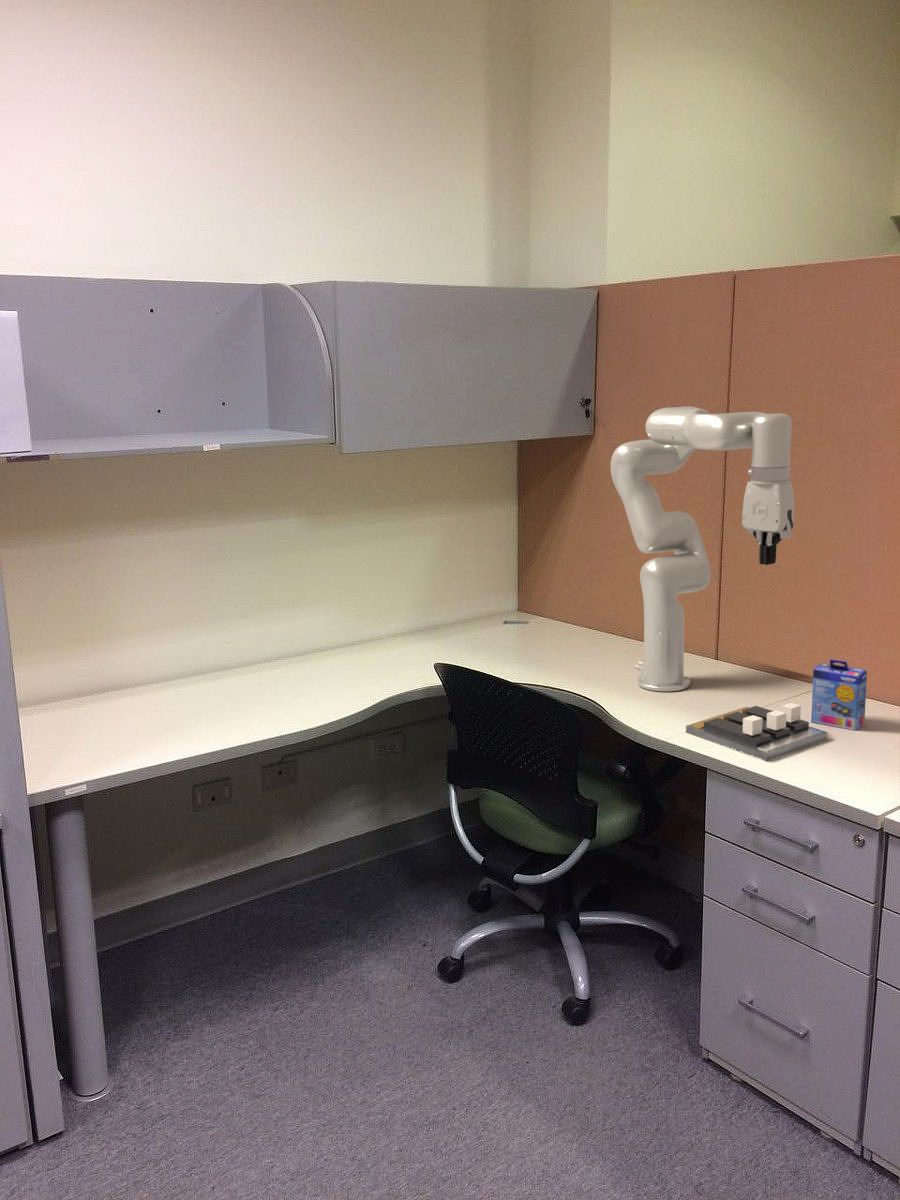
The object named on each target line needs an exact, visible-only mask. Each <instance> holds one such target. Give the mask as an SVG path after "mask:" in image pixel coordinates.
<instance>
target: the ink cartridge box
mask: <svg viewBox="0 0 900 1200" xmlns="http://www.w3.org/2000/svg"><path fill="white" fill-rule="evenodd" d="M840 664H841V665H840ZM812 672H813V673H812V690H811V691H812V695H811V697H812V698H811V715H810V717H811V719H810V722H811V723H814V722H815V723H816V724H819V725H824V724H825V725H826V726H829V727H830V726H831V727H835V728H840V729H845V730H848V731H849V730H851V731H858V730H859V729H860V728H861V727H863V726H864V725H865V724H866V723H865V719H866V718H865V717H866V700H867V699H866V697H867V696H866V695H867V680H868V679H867V677H868V671H867V669H863V668H855V667H850V666H849V665H848V663H847V661H845V660H837V659H831V658H830V659H829V663H819V664H818V665H817V666H816V667H814V668H813V670H812ZM815 723H814V724H815ZM825 725H824V726H825Z"/></svg>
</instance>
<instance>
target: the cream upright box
mask: <svg viewBox="0 0 900 1200" xmlns="http://www.w3.org/2000/svg"><path fill="white" fill-rule="evenodd" d="M762 720H763V718H760V717H757V716H754V715H752V716H749V717H746V718H743V733H746V734H749V735H752V736H753V735H756V734H759V733H762Z"/></svg>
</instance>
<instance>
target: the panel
mask: <svg viewBox="0 0 900 1200" xmlns="http://www.w3.org/2000/svg"><path fill="white" fill-rule="evenodd" d="M772 711H773V710H770V709H767V708H765V707H761V706H758V705H755V706H751V707H748V706H743V707H741V708H738V709H735V710H732V711H728V712H726V713H723V714H718V715H716V716H715V715H714V716H713V717H709V718H706V719H703V720H701V721H697V722H694V723H691V724H686V725H685V733H687V734H690V735H692V736H695V737H698V738H700V739H703V740H706V741H708V740H709V742H711V743H714V742H715V744H717V743H718V744H717V745H719V746H722V745H724V747H725V746H727V747H726V748H728V747H729V748H728V749H731V748H733V749H732V750H734V749H736V750H739V751H742V752H744V753H743V754H745V753H746V755H747V754H749V755H748V756H750V755H753V756H755V757H754V758H756V757H758V758H757V759H759V758H761V759H763V760H762V761H764V760H766V761H765V762H769V761H771V760H770V759H772V760H774V759H773V758H775V759H777V758H780V757H782V755H783V756H786V755H788V754H790V752H791V753H793V751H794V752H796V750H797V751H799V750H801V748H802V749H805V748H807V747H810V746H813V745H816V744H818V743H821V742H824V741H827V740H828V736H829V732H828V731H825V730H822V729H820V728H819V729H818V728H816V727H814V726H813V727H812V726H810V722H809V721H807V720H805V719H804V720H803V719H801V718H800V720H797V721H794V722H788V721H786V727H785V728H782V729H779V730H773V729H770V728H767V727H766V726H767V713H769V712H772ZM752 715H754V716H757V717H760V718H763V720H762V733H759V734H756V735H753V736H752V735H749V734H746V733H743V718H746V717H749V716H752ZM798 749H799V750H798ZM736 750H735V751H736ZM739 751H738V752H739ZM742 752H741V753H742ZM785 754H786V755H785ZM753 756H752V757H753ZM779 756H780V757H779ZM776 757H777V758H776ZM761 759H760V760H761ZM768 760H769V761H768Z"/></svg>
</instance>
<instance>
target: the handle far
mask: <svg viewBox="0 0 900 1200" xmlns="http://www.w3.org/2000/svg"><path fill="white" fill-rule="evenodd" d="M801 707H802V705H800V704H796V703H793V702H790V703H787V704H784V705H781V712H784V713H786V721H788V722H794V721H797V720H800V719H801V712H802V711H801V709H802V708H801Z"/></svg>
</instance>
